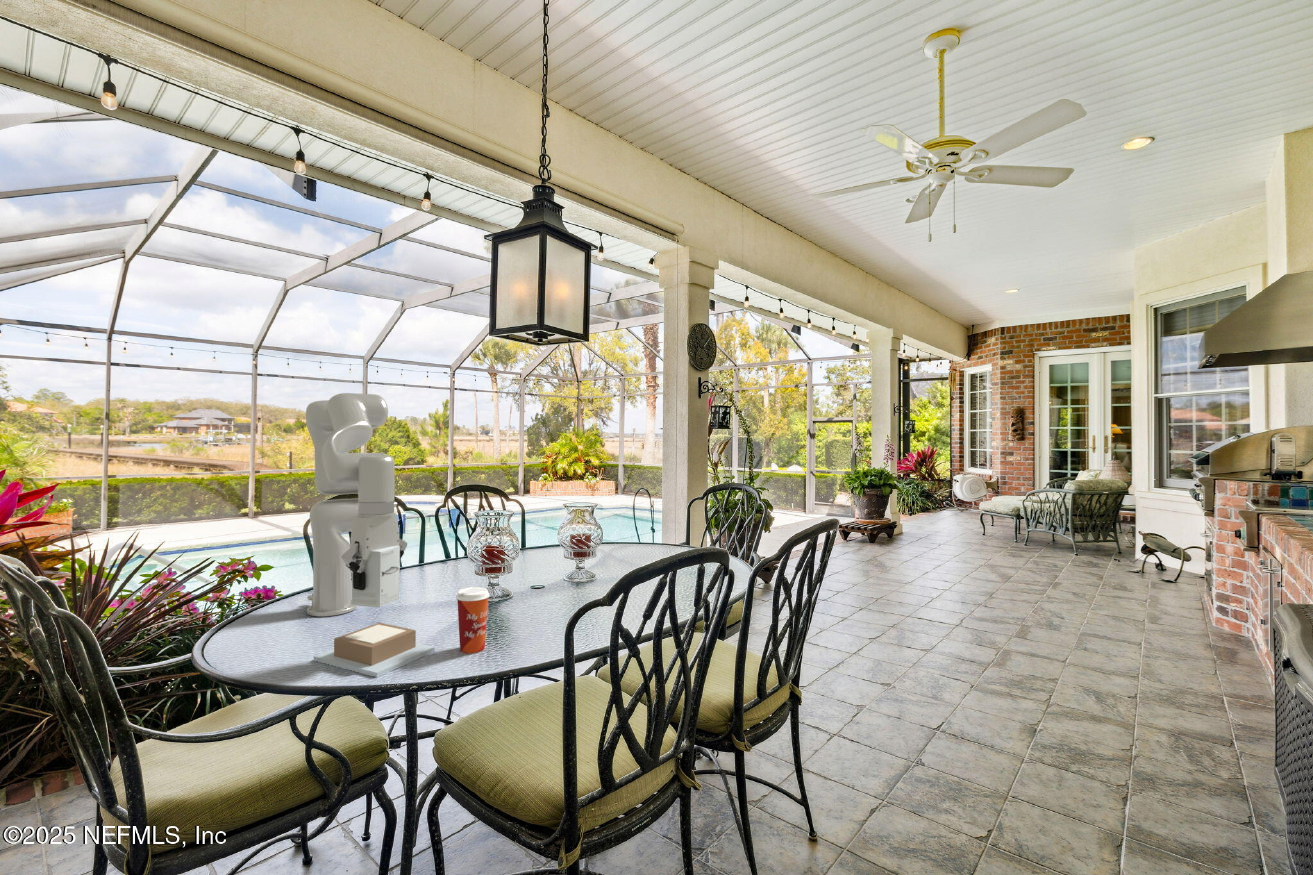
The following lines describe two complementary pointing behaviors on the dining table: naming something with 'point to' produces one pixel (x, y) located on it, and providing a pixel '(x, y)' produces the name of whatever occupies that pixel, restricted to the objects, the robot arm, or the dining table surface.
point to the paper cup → (472, 618)
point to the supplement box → (379, 578)
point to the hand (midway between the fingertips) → (376, 584)
